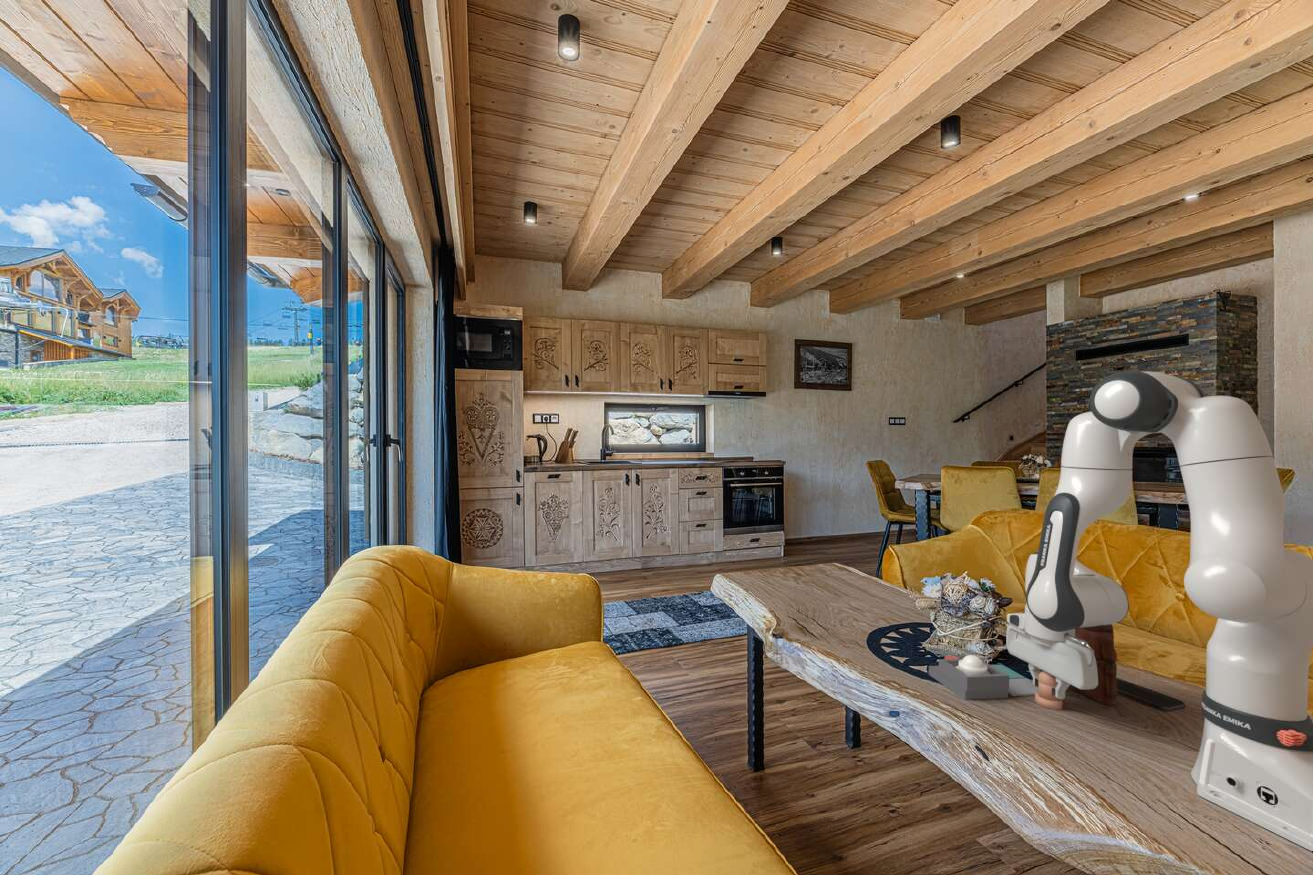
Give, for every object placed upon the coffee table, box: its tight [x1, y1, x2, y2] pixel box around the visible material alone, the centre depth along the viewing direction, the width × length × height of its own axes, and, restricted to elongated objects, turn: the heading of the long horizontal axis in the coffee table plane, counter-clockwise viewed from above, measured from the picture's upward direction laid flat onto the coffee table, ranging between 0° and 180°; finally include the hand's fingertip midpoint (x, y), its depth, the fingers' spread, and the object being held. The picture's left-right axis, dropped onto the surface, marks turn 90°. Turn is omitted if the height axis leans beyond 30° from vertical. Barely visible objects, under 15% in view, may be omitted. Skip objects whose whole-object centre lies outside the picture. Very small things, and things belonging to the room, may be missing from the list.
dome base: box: [928, 655, 1009, 701], centre depth 127 cm, size 13×10×5 cm
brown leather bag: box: [1068, 624, 1118, 706], centre depth 125 cm, size 12×6×18 cm, turn 13°
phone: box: [1116, 676, 1186, 713], centre depth 125 cm, size 8×1×15 cm
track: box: [990, 664, 1038, 697], centre depth 131 cm, size 16×10×1 cm, turn 7°
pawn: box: [1034, 670, 1064, 711], centre depth 119 cm, size 5×5×7 cm
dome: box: [956, 654, 990, 675], centre depth 125 cm, size 7×7×5 cm
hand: (1048, 692), depth 119 cm, fingers closed on pawn, 4 cm apart
